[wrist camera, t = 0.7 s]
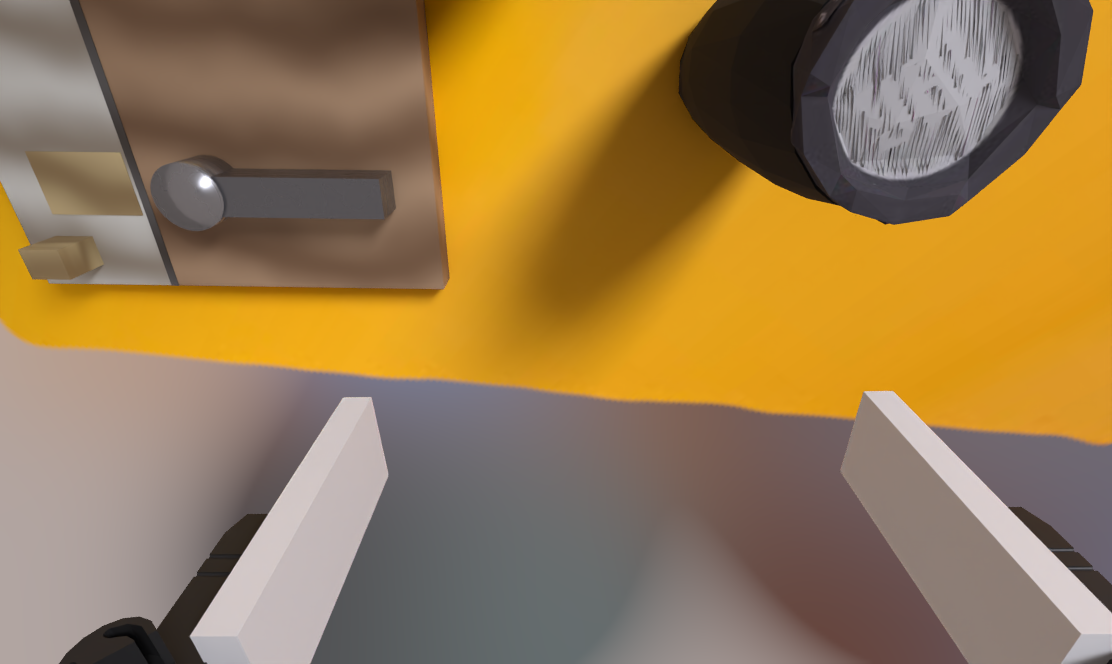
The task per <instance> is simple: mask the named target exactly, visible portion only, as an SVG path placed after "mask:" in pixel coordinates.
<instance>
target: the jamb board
mask: <svg viewBox="0 0 1112 664" xmlns="http://www.w3.org/2000/svg"><path fill="white" fill-rule="evenodd" d="M197 155H211V156H214V157H217V158H220V159H222V160H223V161H225V162H226V163H228V164H229V165H230V166H231V167H233V168H248V169H324V170H391V173H392V181H393V188H394V196H395V203H396V209H395V210H394V211H393V212H392V213H391V214H390V215H389V216H388V217H387V218H386V219H317V218H244V217H231V218H229V219H227V220H225V221H223V222H221V223H219V224H217V225H215V226H213V227H211V228H209V229H206V230H203V231H190V230H186V229H183V228H181V227H178V226H177V225H175V224H173V223H172V222H170V221H169V220H168V219H167V218H166V217H165V216H164V215H163V214H162V213H161V212H160V211H159V210H158V208H157V207H156V205H155V203H154V201H153V198H152V195H151V190H150V183H151V179H152V176H153V174H154V173H155V171H156V170H157V169H158V168H160V167H161V166H163V165H166V164H169V163H173V162H176V161H180V160H183V159H187V158H190V157H193V156H197ZM0 181H1V183H2V185H3V187H4V189H5V192H6V194H7V196H8V198H9V200H10V202H11V204H12V206H13V208H14V210H15V213H16V215H17V217H18V219H19V221H20V223H21V225H22V227H23V229H24V231H25V234H26V236H27V238H28V240H29V242H30V244H31V245H30V246H27V247H24V248H21V249H19V252H20V255H21V257H22V259H23V261H24V263H25V265H26V267H27V269H28V271H29V273H30V275H31V277H32V279H47V280H48V282H49V283H62V284H130V285H175V286H179V285H198V286H266V287H333V288H401V289H444V288H445V286H446V284H447V282H448V280H449V268H448V257H447V246H446V235H445V224H444V213H443V202H442V191H441V180H440V169H439V158H438V147H437V136H436V125H435V114H434V103H433V92H432V81H431V70H430V59H429V48H428V37H427V26H426V15H425V4H424V0H0Z"/></svg>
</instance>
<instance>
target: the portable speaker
mask: <svg viewBox="0 0 1112 664" xmlns="http://www.w3.org/2000/svg"><path fill="white" fill-rule="evenodd" d="M1092 15H1093V9H1092V7H1091V5H1090V2H1089V0H717V1H716V2H715V3H714V4H713V5H712V7H711V8H710V9H709V10H708V11H707V12H706V14H705V15H704V16H703V18H702V19H701V21H700V22H699V23H698V25H697V26H696V28H695V29H694V31H693V32H692V33H691V35H690V36H689V38H688V42H687V44H686V47H685V50H684V53H683V55H682V58H681V61H680V75H679V94H680V96H681V98H682V100H683V102H684V104H685V106H686V108H687V109H688V111H689V113H690V115H691V117H692V119H693V120H694V121H695V122H696V123H697V124H698V125H699V126H700V127H701V129H702V130H703V131H704V132H705V133H706V134H707V135H708V136H709V137H710V138H711V139H712V140H713V141H714V142H716V143H717V144H718V145H720V146H721V147H722V148H723V149H725V150H726V151H727V152H728V153H730V154H731V155H732V156H733V157H735V158H736V159H737V160H738V161H740V162H741V163H743V164H744V165H746V166H747V167H749V168H751V169H752V170H754V171H755V172H757V173H758V174H760V175H761V176H763V177H764V178H766V179H768V180H769V181H771V182H772V183H774V184H775V185H778V186H780V187H782V188H784V189H787V190H789V191H791V192H794V193H796V194H798V195H800V196H803V197H805V198H808V199H812V200H817V201H821V202H826V203H830V204H835V205H839V206H842V207H843V208H845V209H847V210H848V211H850V212H852V213H856V214H859V215H863V216H866V217H869V218H873V219H876V220H878V221H880V222H882V223H884V224H889V223H890V224H893V225H895V224H901V223H908V222H914V221H921V220H927V219H933V218H940V217H946V216H950V215H951V214H952V213H954V212H955V211H956V210H958V209H959V208H960V207H961V206H963V205H964V204H965V203H967V202H968V201H969V200H970V199H972V198H973V197H974V196H975V195H976V194H978V193H979V192H980V191H981V190H982V189H984V188H985V187H986V186H987V185H988V184H990V183H991V182H992V181H993V180H994V179H996V178H997V177H998V176H999V175H1000V174H1002V173H1003V172H1004V171H1005V170H1006V169H1008V168H1009V167H1010V166H1011V165H1012V164H1014V163H1015V162H1016V161H1017V160H1018V159H1020V158H1021V157H1022V156H1023V155H1024V154H1025V153H1026V152H1027V151H1028V149H1029V148H1030V147H1031V146H1032V144H1033V143H1034V142H1035V141H1036V140H1037V138H1038V137H1039V136H1040V135H1041V133H1042V132H1043V131H1044V130H1045V128H1046V127H1047V126H1048V125H1049V123H1050V122H1051V121H1052V120H1053V118H1054V117H1055V116H1056V115H1057V113H1058V112H1059V111H1060V110H1061V108H1062V107H1063V106H1064V105H1065V104H1066V102H1067V101H1068V100H1069V99H1070V97H1071V96H1072V95H1073V94H1074V93H1075V91H1076V90H1077V89H1078V88H1079V87H1080V85H1081V83H1082V76H1083V70H1084V64H1085V58H1086V52H1087V46H1088V40H1089V34H1090V27H1091V21H1092Z"/></svg>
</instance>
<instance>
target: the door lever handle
mask: <svg viewBox="0 0 1112 664" xmlns="http://www.w3.org/2000/svg"><path fill="white" fill-rule="evenodd" d="M150 190H151V195H152V198H153V201H154V203H155V205H156V207H157V208H158V210H159V211H160V212H161V213H162V214H163V215H164V216H165V217H166V218H167V219H168V220H169V221H170V222H172V223H173V224H175V225H177V226H178V227H181V228H183V229H186V230H190V231H203V230H206V229H209V228H211V227H213V226H215V225H217V224H219V223H221V222H223V221H225V220H227V219H229V218H231V217H244V218H317V219H386V218H387V217H388V216H389V215H390V214H391V213H392V212H393V211H394V210H395V209H396V203H395V196H394V188H393V181H392V173H391V170H324V169H248V168H233V167H231V166H230V165H229V164H228V163H226V162H225V161H223V160H222V159H220V158H217V157H214V156H211V155H197V156H193V157H190V158H187V159H183V160H180V161H176V162H173V163H169V164H166V165H163V166H161V167H160V168H158V169H157V170H156V171H155V173H154V174H153V176H152V179H151V183H150Z"/></svg>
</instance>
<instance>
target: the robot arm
mask: <svg viewBox="0 0 1112 664" xmlns="http://www.w3.org/2000/svg"><path fill="white" fill-rule="evenodd" d="M840 472H841V473H842V475H843V476H844V478H845V479H846V481H847V482H848V484H849V485H850V487H851V488H852V490H853V491H854V493H855V494H856V496H857V497H858V499H859V500H860V502H861V503H862V504H863V506H864V508H865V509H866V511H867V512H868V514H869V515H870V517H871V518H872V520H873V521H874V523H875V524H876V525H877V527H878V528H879V530H880V531H881V533H882V535H883V536H884V537H885V539H886V540H887V542H888V544H889V545H890V547H891V548H892V550H893V551H894V553H895V554H896V556H897V557H898V558H899V560H900V562H901V563H902V565H903V566H904V567H905V569H906V570H907V572H908V573H909V575H910V576H911V578H912V579H913V581H914V582H915V584H916V585H917V587H918V588H919V590H920V591H921V593H922V594H923V596H924V597H925V599H926V600H927V602H928V603H929V605H930V606H931V608H932V609H933V611H934V612H935V614H936V615H937V617H938V618H939V620H940V621H941V623H942V624H943V626H944V627H945V629H946V630H947V632H948V633H949V635H950V636H951V638H952V639H953V641H954V642H955V644H956V645H957V647H958V648H959V650H960V651H961V653H962V654H963V656H964V657H965V659H966V660H967V662H968V663H969V664H1112V585H1111V584H1110V583H1109V582H1108V581H1107V580H1106V579H1105V578H1104V577H1103V576H1102V575H1101V574H1100V573H1099V572H1098V571H1094V570H1093V568H1092V565H1091V564H1090V563H1089V562H1088V561H1087V560H1086V559H1085V558H1083V557H1082V556H1081V555H1080V554H1079V553H1078V552H1074V550H1073V547H1072V546H1071V545H1070V544H1069V543H1068V542H1067V541H1066V540H1065V539H1064V538H1063V537H1062V536H1061V535H1060V534H1058V532H1056V531H1055V530H1054V529H1053V528H1052V527H1051V526H1050V525H1048V524H1047V523H1045V522H1043V521H1042V520H1041V519H1039V518H1037V517H1036V516H1034V515H1033V514H1031V513H1030V512H1028V511H1027V510H1025V509H1023V508H1022V507H1007V506H1006V505H1005V504H1004V503H1002V501H1001V500H1000V499H999V498H998V497H997V496H996V495H995V494H994V493H993V492H992V491H991V490H990V489H989V488H988V487H987V486H986V485H985V484H984V483H983V482H982V481H981V480H980V479H979V478H978V477H977V476H976V475H975V474H974V473H973V472H972V471H971V470H970V469H969V468H968V467H967V466H966V465H965V464H964V463H963V462H962V461H961V460H960V459H959V458H958V457H957V456H956V455H955V454H954V453H953V452H952V450H950V449H949V447H947V445H946V444H945V443H944V442H943V441H942V440H941V439H940V438H939V437H938V436H937V435H936V434H935V433H934V432H933V431H932V430H931V429H930V428H929V427H928V426H927V425H926V424H925V423H924V422H923V421H922V420H921V419H920V418H919V417H918V416H917V415H916V414H915V413H914V412H913V411H912V410H911V409H910V408H909V407H908V406H907V405H906V404H905V403H904V402H903V401H902V400H901V399H900V398H899V397H898V396H897V395H896V394H895V393H894V392H893V391H864V392H863V396H862V399H861V402H860V406H859V409H858V413H857V416H856V419H855V423H854V426H853V430H852V433H851V436H850V440H849V443H848V447H847V450H846V454H845V457H844V460H843V464H842V467H841V470H840ZM387 478H388V470H387V466H386V462H385V457H384V452H383V448H382V443H381V439H380V434H379V429H378V425H377V420H376V416H375V411H374V407H373V402H372V398H371V397H353V398H352V397H350V398H349V397H348V398H343V399H342V401H341V402H340V404H339V405H338V406H337V408H336V410H335V411H334V413H333V414H332V416H331V417H330V419H329V420H328V422H327V424H326V425H325V427H324V428H323V430H322V431H321V433H320V434H319V436H318V438H317V439H316V441H315V442H314V444H313V445H312V447H311V449H310V450H309V452H308V453H307V455H306V456H305V458H304V459H303V461H302V463H301V464H300V466H299V467H298V469H297V470H296V472H295V473H294V475H293V476H292V478H291V480H290V481H289V483H288V484H287V486H286V487H285V489H284V491H283V492H282V494H281V495H280V497H279V498H278V500H277V501H276V503H275V504H274V506H273V508H272V509H271V511H270V512H269V514H247V515H246V516H245V517H244V518H242V519H241V520H240V521H239V522H237V523H236V524H235V525H234V526H233V527H231V528H230V529H229V530H228V531H227V532H226V533H225V534H224V535H223V537H222V538H221V539H220V541H219V542H218V543H217V545H216V546H215V548H214V549H213V551H212V552H211V553H210V557H209V559H206V560H205V562H204V563H203V565H202V566H201V567H200V569H199V570H198V572H197V576H196V577H194V578H193V579H192V580H191V582H190V583H189V584H188V586H187V587H186V589H185V590H184V591H183V593H182V594H181V596H180V597H179V599H178V600H177V601H176V603H175V604H174V606H173V607H172V608H171V610H170V611H169V613H168V614H167V616H166V617H165V619H164V620H163V621H162V623H161V624H160V626H159V627H158V628H157V630H156V628H155V626H154V625H153V623H152V621H150V620H148V619H144V618H142V617H132V618H123V619H120V620H117V621H115V622H112V623H109V624H107V625H104V626H102V627H101V628H99V629H97V630H96V631H94V632H92V633H91V634H89V635H88V636H86V637H84V638H83V639H82V640H81V641H80V642H79V643H78V644H76V645H75V646H74V647H73V648H72V649H71V650H70V651H69V652H68V653H66V655H65V656H64V658H63V659H62V660H61V662H60V663H59V664H310V663H311V660H312V658H313V656H314V653H315V651H316V648H317V646H318V643H319V641H320V639H321V636H322V634H323V632H324V629H325V627H326V624H327V622H328V620H329V617H330V615H331V612H332V610H333V608H334V605H335V603H336V600H337V598H338V596H339V593H340V591H341V588H342V586H343V583H344V581H345V578H346V576H347V574H348V571H349V569H350V567H351V564H352V562H353V559H354V557H355V554H356V552H357V550H358V547H359V545H360V542H361V540H362V537H363V535H364V533H365V530H366V528H367V526H368V523H369V521H370V519H371V516H372V514H373V511H374V509H375V507H376V504H377V502H378V499H379V497H380V494H381V492H382V489H383V487H384V485H385V482H386V480H387Z"/></svg>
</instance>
